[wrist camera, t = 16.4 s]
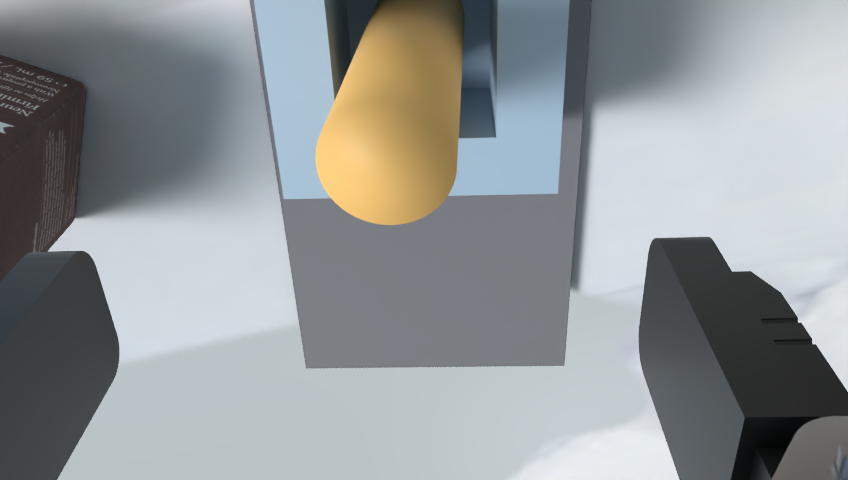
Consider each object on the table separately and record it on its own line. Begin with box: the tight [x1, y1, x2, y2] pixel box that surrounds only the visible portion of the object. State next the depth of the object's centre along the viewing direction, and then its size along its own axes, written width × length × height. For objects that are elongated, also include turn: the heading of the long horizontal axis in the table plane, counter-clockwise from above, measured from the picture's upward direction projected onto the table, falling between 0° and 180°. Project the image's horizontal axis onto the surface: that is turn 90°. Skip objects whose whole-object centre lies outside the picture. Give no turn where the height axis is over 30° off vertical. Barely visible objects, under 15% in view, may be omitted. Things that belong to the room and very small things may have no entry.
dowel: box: [315, 0, 465, 225], centre depth 19 cm, size 3×3×10 cm
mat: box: [250, 0, 592, 368], centre depth 27 cm, size 20×11×1 cm, turn 2°
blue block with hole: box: [254, 0, 570, 199], centre depth 22 cm, size 8×8×5 cm
